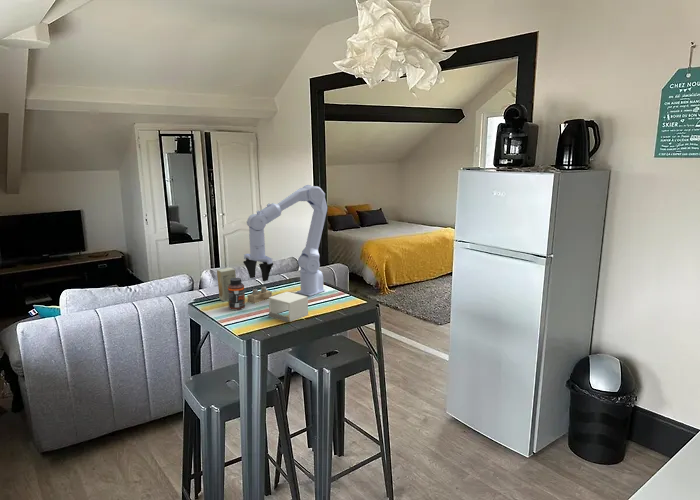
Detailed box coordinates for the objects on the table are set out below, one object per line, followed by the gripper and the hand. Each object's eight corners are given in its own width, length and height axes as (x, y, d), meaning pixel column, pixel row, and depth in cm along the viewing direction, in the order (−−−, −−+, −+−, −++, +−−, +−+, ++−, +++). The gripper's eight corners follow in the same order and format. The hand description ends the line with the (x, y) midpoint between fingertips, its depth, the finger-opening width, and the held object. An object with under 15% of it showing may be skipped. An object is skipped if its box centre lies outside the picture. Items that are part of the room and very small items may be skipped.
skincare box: (233, 296, 196) (231, 267, 194) (238, 298, 193) (236, 269, 190) (218, 299, 192) (216, 269, 190) (222, 301, 189) (220, 271, 187)
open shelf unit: (287, 309, 179) (287, 291, 178) (308, 314, 173) (307, 296, 172) (267, 316, 172) (267, 297, 171) (288, 322, 166) (287, 303, 164)
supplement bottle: (241, 311, 178) (239, 281, 176) (226, 310, 179) (224, 280, 177) (247, 305, 184) (246, 277, 181) (233, 305, 185) (231, 276, 183)
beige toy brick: (265, 296, 196) (264, 285, 195) (271, 298, 194) (271, 287, 193) (247, 302, 189) (247, 290, 188) (254, 304, 187) (253, 292, 186)
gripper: (237, 244, 188) (239, 278, 191) (261, 249, 179) (263, 284, 182) (251, 242, 194) (252, 274, 196) (276, 246, 185) (277, 280, 187)
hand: (258, 279), depth 190 cm, fingers open, 7 cm apart
